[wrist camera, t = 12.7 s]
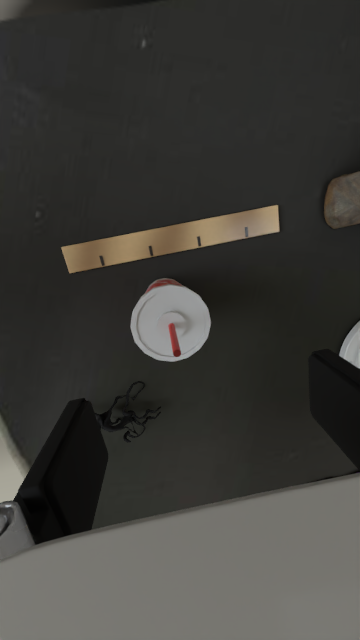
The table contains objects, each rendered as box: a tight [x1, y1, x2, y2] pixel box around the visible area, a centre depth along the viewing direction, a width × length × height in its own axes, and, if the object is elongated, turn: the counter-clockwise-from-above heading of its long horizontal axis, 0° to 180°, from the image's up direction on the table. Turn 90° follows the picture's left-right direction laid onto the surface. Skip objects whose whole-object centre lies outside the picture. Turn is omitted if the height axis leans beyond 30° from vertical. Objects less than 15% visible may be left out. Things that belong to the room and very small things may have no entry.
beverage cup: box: [130, 278, 211, 362], centre depth 21 cm, size 6×6×14 cm
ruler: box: [61, 205, 279, 273], centre depth 26 cm, size 22×3×1 cm, turn 100°
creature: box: [95, 381, 161, 442], centre depth 29 cm, size 8×5×8 cm
